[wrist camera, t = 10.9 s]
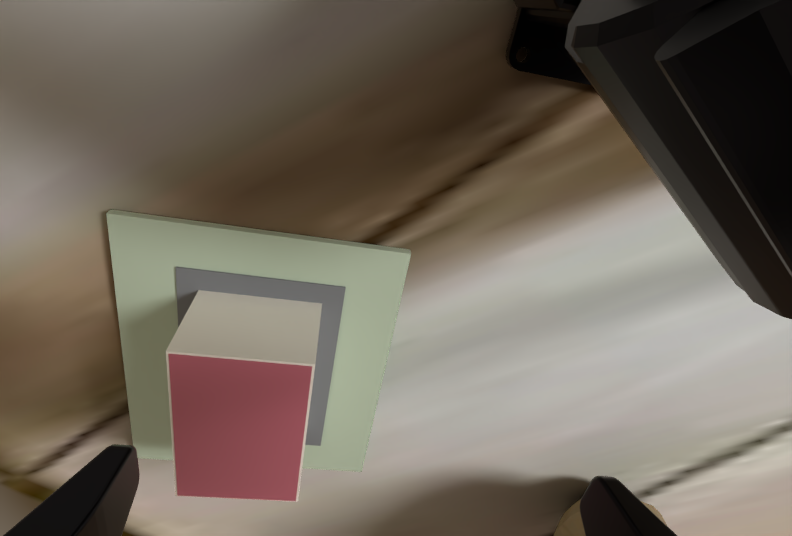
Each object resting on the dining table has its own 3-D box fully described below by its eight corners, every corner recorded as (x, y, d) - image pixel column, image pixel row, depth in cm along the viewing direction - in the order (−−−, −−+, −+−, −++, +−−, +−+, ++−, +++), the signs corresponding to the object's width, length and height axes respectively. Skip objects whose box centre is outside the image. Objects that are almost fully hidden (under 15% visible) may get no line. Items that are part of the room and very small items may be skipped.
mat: (410, 249, 20) (411, 255, 20) (361, 465, 27) (361, 473, 27) (110, 209, 19) (104, 214, 18) (137, 451, 25) (133, 459, 25)
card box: (306, 430, 25) (297, 502, 21) (201, 423, 24) (175, 496, 20) (322, 303, 21) (315, 365, 17) (198, 290, 20) (165, 351, 17)
